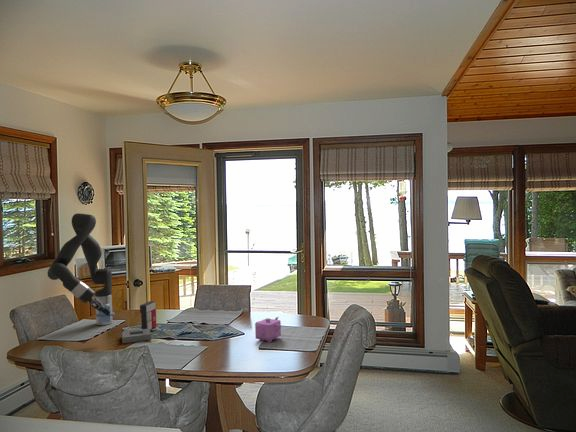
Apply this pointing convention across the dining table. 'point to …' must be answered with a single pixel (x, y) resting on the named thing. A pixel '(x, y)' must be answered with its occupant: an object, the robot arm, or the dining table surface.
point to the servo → (104, 317)
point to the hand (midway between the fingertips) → (109, 313)
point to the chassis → (136, 335)
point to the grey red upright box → (148, 315)
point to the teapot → (268, 329)
